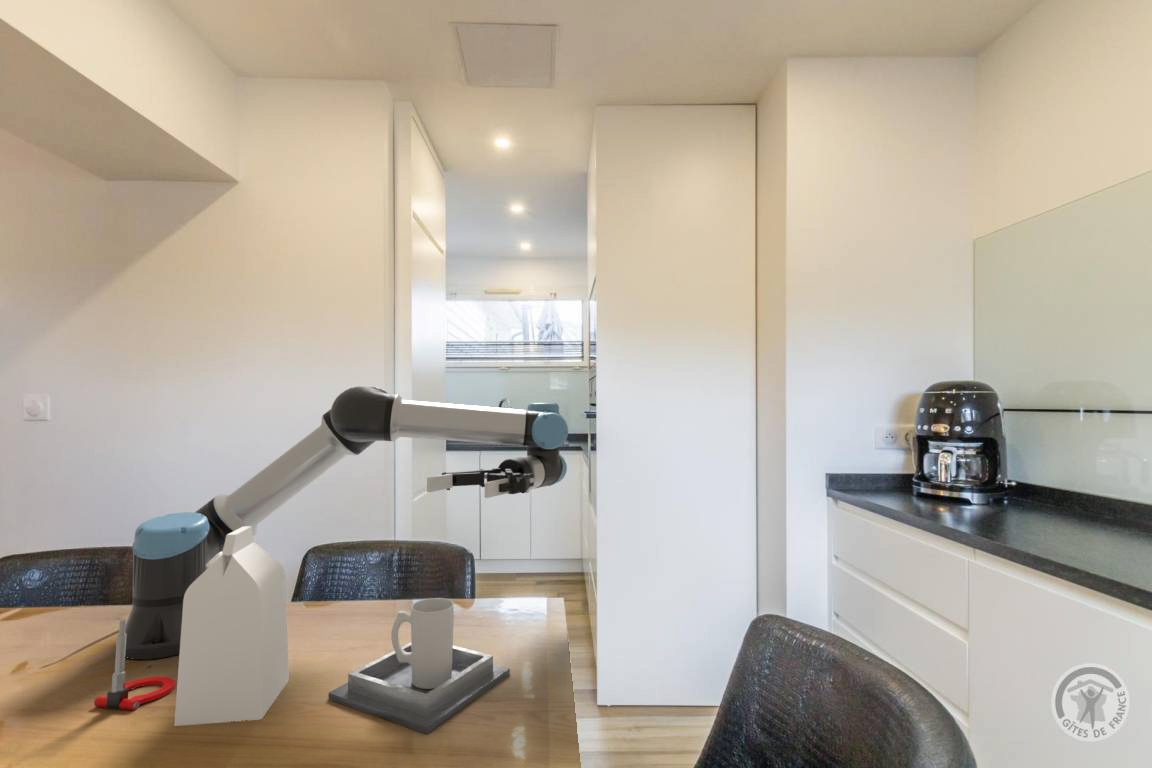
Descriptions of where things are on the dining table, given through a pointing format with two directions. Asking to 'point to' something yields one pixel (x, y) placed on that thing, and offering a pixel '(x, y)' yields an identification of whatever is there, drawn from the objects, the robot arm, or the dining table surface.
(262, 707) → the milk
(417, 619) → the mug
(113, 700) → the tow hook
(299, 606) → the dining table surface
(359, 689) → the grey shallow square tray
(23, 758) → the dining table surface
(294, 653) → the dining table surface
